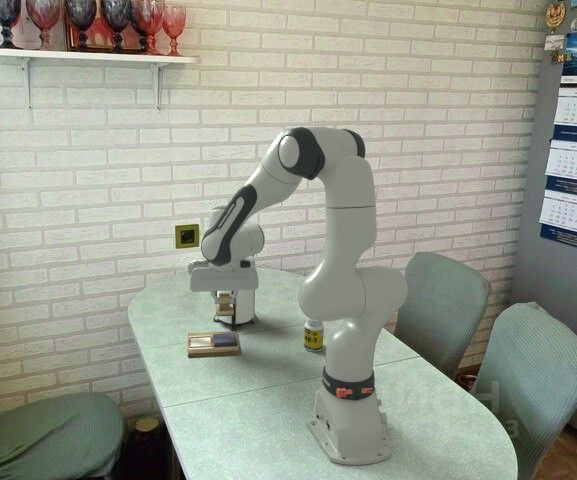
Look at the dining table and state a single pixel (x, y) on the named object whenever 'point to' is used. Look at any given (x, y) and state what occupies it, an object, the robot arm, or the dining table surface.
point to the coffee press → (240, 308)
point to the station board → (213, 344)
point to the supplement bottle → (313, 335)
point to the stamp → (224, 305)
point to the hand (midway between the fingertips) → (224, 303)
